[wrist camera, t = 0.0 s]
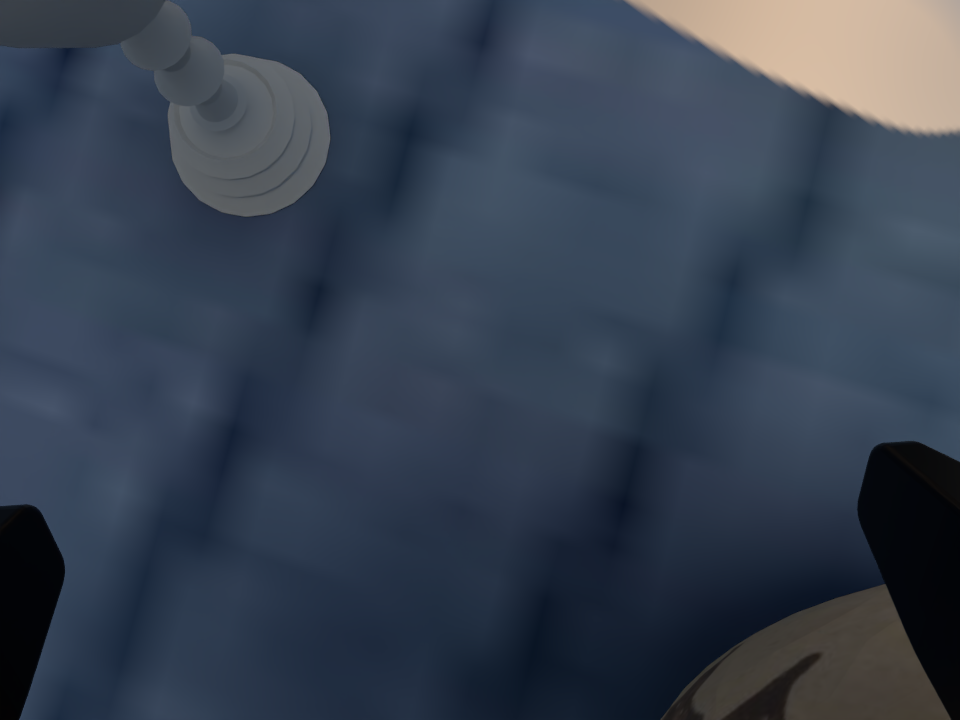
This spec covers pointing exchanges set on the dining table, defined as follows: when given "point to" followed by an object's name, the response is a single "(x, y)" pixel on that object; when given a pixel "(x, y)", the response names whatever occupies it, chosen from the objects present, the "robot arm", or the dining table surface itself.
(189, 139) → the chalice
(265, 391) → the dining table surface
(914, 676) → the ceramic vessel
